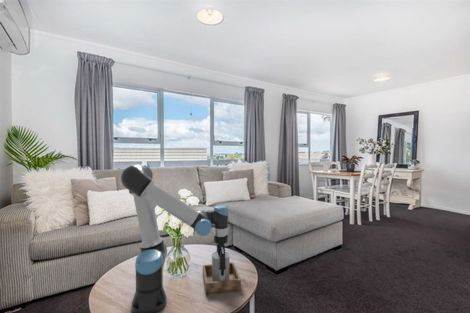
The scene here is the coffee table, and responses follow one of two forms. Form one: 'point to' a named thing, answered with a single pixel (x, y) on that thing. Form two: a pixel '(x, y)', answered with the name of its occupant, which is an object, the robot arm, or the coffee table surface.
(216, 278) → the speckled white tin can
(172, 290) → the coffee table surface
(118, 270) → the coffee table surface
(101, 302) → the coffee table surface
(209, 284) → the walnut box
